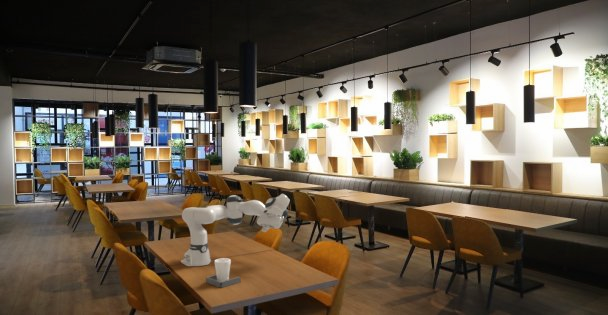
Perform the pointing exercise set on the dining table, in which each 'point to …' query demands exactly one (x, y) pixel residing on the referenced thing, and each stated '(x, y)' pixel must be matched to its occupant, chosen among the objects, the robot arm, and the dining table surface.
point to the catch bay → (214, 282)
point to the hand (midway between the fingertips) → (263, 231)
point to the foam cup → (222, 269)
